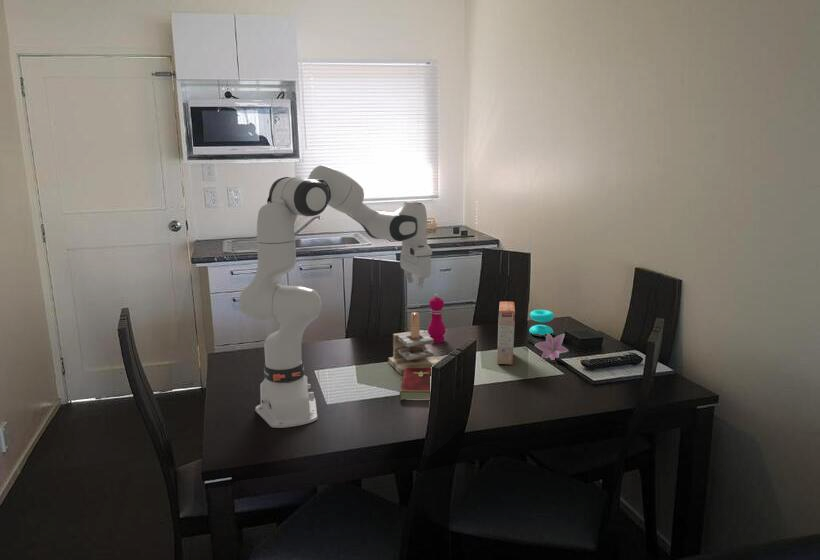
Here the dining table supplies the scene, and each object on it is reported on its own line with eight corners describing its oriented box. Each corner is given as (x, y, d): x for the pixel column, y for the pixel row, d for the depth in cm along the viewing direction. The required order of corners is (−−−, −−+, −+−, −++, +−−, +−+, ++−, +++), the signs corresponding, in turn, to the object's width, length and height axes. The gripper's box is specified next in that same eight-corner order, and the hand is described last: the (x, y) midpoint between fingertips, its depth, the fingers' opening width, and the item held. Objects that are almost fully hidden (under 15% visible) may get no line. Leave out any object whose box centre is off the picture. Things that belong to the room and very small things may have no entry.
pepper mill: (426, 343, 257) (426, 295, 252) (429, 337, 263) (429, 291, 259) (443, 344, 255) (443, 296, 250) (446, 338, 262) (447, 292, 257)
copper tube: (421, 361, 230) (420, 314, 226) (412, 362, 229) (412, 315, 225) (417, 358, 233) (417, 311, 229) (409, 359, 232) (409, 312, 228)
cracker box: (513, 366, 230) (515, 311, 226) (497, 365, 231) (498, 310, 226) (513, 353, 244) (515, 301, 239) (497, 352, 245) (499, 300, 240)
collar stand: (443, 368, 228) (443, 340, 226) (401, 375, 222) (401, 345, 220) (427, 356, 241) (427, 329, 238) (388, 362, 235) (387, 334, 232)
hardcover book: (399, 402, 201) (399, 390, 200) (404, 377, 221) (404, 366, 220) (437, 403, 200) (437, 390, 199) (438, 378, 221) (438, 366, 220)
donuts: (544, 316, 257) (524, 311, 264) (543, 340, 259) (524, 334, 267) (559, 312, 263) (539, 307, 271) (558, 335, 265) (539, 329, 273)
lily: (531, 357, 242) (529, 340, 236) (554, 342, 245) (553, 325, 239) (552, 375, 233) (550, 358, 227) (576, 359, 237) (575, 342, 231)
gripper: (395, 243, 230) (396, 280, 233) (417, 252, 211) (417, 292, 214) (411, 242, 232) (412, 278, 235) (434, 251, 214) (434, 290, 217)
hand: (414, 285), depth 225 cm, fingers open, 8 cm apart
